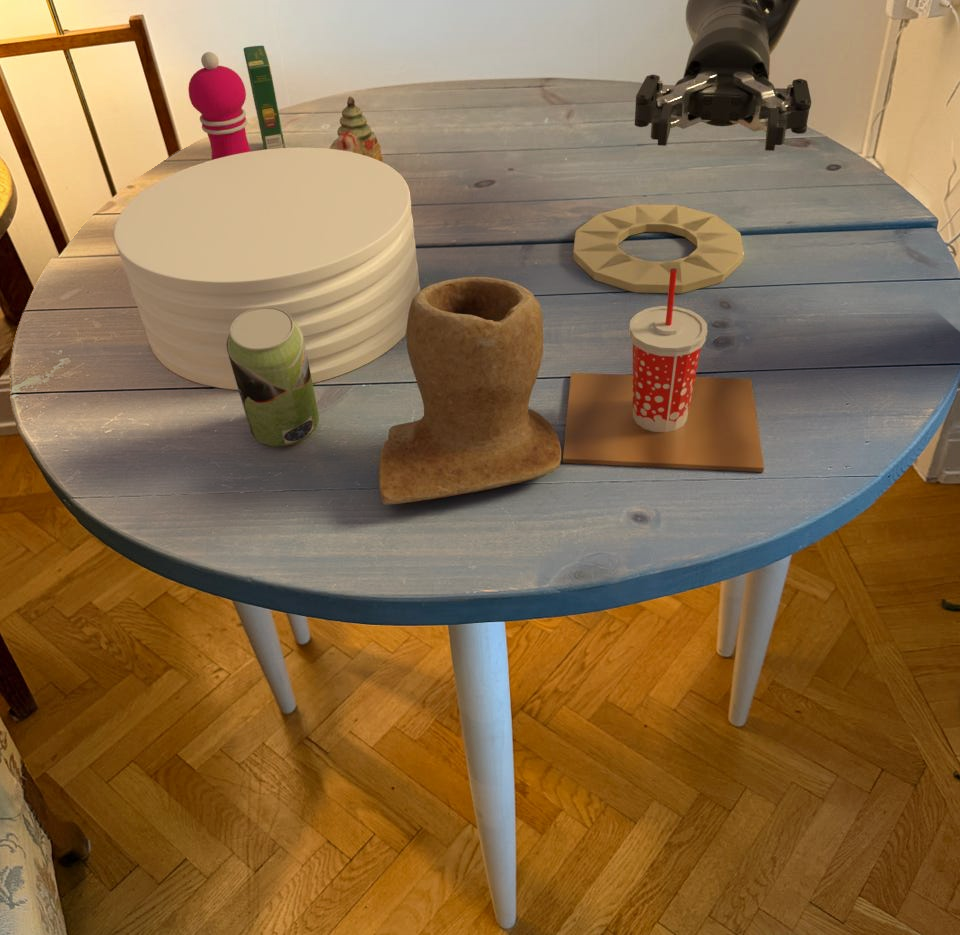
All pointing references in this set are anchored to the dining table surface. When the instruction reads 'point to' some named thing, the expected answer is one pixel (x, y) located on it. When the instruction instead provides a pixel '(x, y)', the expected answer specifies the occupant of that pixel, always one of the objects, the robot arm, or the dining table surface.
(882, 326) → the dining table surface
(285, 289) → the plate stack
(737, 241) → the tan faceted ring
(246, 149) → the pepper mill
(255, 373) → the beverage can
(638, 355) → the beverage cup
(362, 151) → the ornament
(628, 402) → the cork mat
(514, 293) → the stone cup
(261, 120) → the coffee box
